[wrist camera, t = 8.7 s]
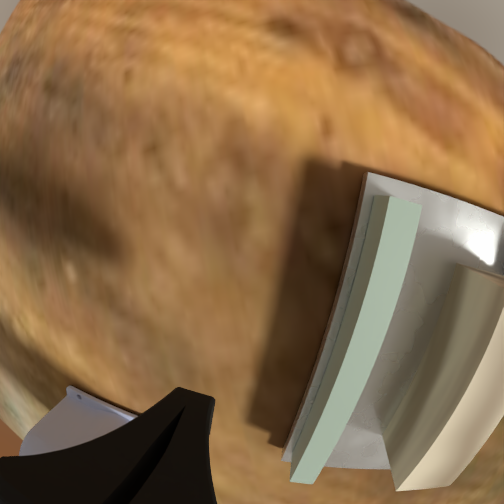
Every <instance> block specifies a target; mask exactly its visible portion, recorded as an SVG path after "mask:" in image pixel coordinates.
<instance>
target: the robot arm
mask: <svg viewBox="0 0 504 504" xmlns="http://www.w3.org/2000/svg"><path fill="white" fill-rule="evenodd" d="M66 392H67V396H66V397H64V398H63V399H62V400H61V401H60V402H59V403H58V404H57V405H56V406H55V407H54V408H53V409H52V410H51V411H50V412H48V413H47V414H46V415H45V416H44V417H43V418H42V419H41V420H40V421H39V422H38V423H37V424H36V425H35V426H34V427H33V428H32V429H31V430H30V431H29V432H28V433H27V435H26V436H25V438H24V440H23V442H22V445H21V448H20V453H19V456H9V457H1V458H0V504H217V501H216V497H215V492H214V487H213V482H212V475H211V468H210V457H209V435H210V430H211V424H212V418H213V412H214V406H215V399H214V398H213V397H212V396H208V395H204V394H201V393H197V392H194V391H191V390H187V389H184V388H181V387H177V388H175V389H174V390H173V391H172V392H171V393H169V394H168V395H167V396H166V397H164V398H163V399H162V400H160V401H159V402H158V403H156V404H155V405H154V406H152V407H151V408H149V409H148V410H146V411H145V412H144V413H142V414H141V415H139V416H137V415H134V414H132V413H129V412H127V411H124V410H122V409H120V408H117V407H115V406H113V405H110V404H108V403H106V402H104V401H101V400H99V399H97V398H95V397H93V396H91V395H89V394H87V393H85V392H83V391H81V390H79V389H77V388H75V387H73V386H70V385H69V386H68V387H67V388H66Z"/></svg>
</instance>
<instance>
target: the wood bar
mask: <svg viewBox="0 0 504 504" xmlns="http://www.w3.org/2000/svg"><path fill="white" fill-rule="evenodd" d="M503 415H504V276H502V275H499V274H495V273H492V272H488V271H485V270H481V269H477V268H474V267H470V266H466V265H463V264H459V263H456V266H455V270H454V273H453V276H452V280H451V283H450V286H449V289H448V292H447V295H446V298H445V301H444V304H443V307H442V310H441V313H440V316H439V318H438V321H437V324H436V326H435V329H434V331H433V334H432V337H431V339H430V341H429V344H428V346H427V349H426V351H425V353H424V356H423V358H422V360H421V362H420V365H419V367H418V369H417V371H416V373H415V375H414V377H413V380H412V382H411V384H410V386H409V388H408V390H407V392H406V394H405V396H404V397H403V399H402V401H401V403H400V405H399V407H398V409H397V411H396V412H395V414H394V416H393V418H392V420H391V421H390V423H389V425H388V426H387V428H386V430H385V432H384V433H383V435H382V437H383V441H384V444H385V448H386V452H387V456H388V460H389V464H390V468H391V472H392V477H393V481H394V485H395V490H396V491H405V490H418V489H427V488H436V487H443V486H450V485H451V484H452V482H453V481H454V480H455V479H456V478H457V477H458V476H459V474H460V473H461V472H462V471H463V470H464V469H465V467H466V466H467V465H468V464H469V462H470V461H471V460H472V459H473V457H474V456H475V455H476V454H477V452H478V451H479V450H480V448H481V447H482V446H483V444H484V443H485V442H486V440H487V439H488V437H489V436H490V435H491V433H492V432H493V430H494V429H495V427H496V426H497V424H498V423H499V421H500V420H501V418H502V417H503Z"/></svg>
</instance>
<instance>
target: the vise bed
mask: <svg viewBox="0 0 504 504" xmlns="http://www.w3.org/2000/svg"><path fill="white" fill-rule="evenodd" d="M375 195H383V196H392V197H395V198H399V199H402V200H406V201H409V202H413V203H416V204H420V205H422V209H421V214H420V219H419V223H418V228H417V232H416V236H415V240H414V244H413V248H412V252H411V256H410V260H409V263H408V267H407V271H406V274H405V278H404V281H403V284H402V288H401V291H400V294H399V297H398V300H397V303H396V306H395V309H394V312H393V315H392V318H391V321H390V324H389V327H388V330H387V332H386V335H385V338H384V340H383V343H382V346H381V348H380V351H379V353H378V356H377V358H376V361H375V363H374V366H373V368H372V370H371V373H370V375H369V378H368V380H367V382H366V384H365V387H364V389H363V391H362V393H361V395H360V398H359V400H358V402H357V404H356V406H355V408H354V410H353V412H352V414H351V416H350V418H349V420H348V422H347V424H346V426H345V428H344V430H343V432H342V434H341V436H340V438H339V440H338V442H337V443H336V445H335V447H334V449H333V451H332V453H331V454H330V456H329V458H328V460H327V461H326V463H325V465H324V466H327V467H339V468H356V469H391V468H390V464H389V460H388V456H387V452H386V448H385V444H384V441H383V437H382V435H383V433H384V432H385V430H386V428H387V426H388V425H389V423H390V421H391V420H392V418H393V416H394V414H395V412H396V411H397V409H398V407H399V405H400V403H401V401H402V399H403V397H404V396H405V394H406V392H407V390H408V388H409V386H410V384H411V382H412V380H413V377H414V375H415V373H416V371H417V369H418V367H419V365H420V362H421V360H422V358H423V356H424V353H425V351H426V349H427V346H428V344H429V341H430V339H431V337H432V334H433V331H434V329H435V326H436V324H437V321H438V318H439V316H440V313H441V310H442V307H443V304H444V301H445V298H446V295H447V292H448V289H449V286H450V283H451V280H452V276H453V273H454V270H455V266H456V263H459V264H463V265H466V266H470V267H474V268H477V269H481V270H485V271H488V272H492V273H495V274H499V275H502V276H504V217H503V216H500V215H498V214H495V213H493V212H490V211H488V210H485V209H483V208H480V207H477V206H475V205H472V204H469V203H467V202H464V201H461V200H458V199H455V198H453V197H450V196H447V195H444V194H441V193H438V192H435V191H432V190H429V189H425V188H422V187H419V186H416V185H413V184H409V183H406V182H403V181H399V180H396V179H392V178H389V177H385V176H381V175H378V174H374V173H370V172H366V173H364V175H363V180H362V185H361V191H360V196H359V201H358V205H357V210H356V215H355V219H354V224H353V228H352V233H351V237H350V241H349V246H348V250H347V254H346V258H345V262H344V266H343V270H342V274H341V278H340V281H339V285H338V289H337V292H336V296H335V300H334V303H333V307H332V310H331V314H330V317H329V320H328V324H327V327H326V330H325V333H324V337H323V340H322V343H321V346H320V349H319V352H318V356H317V359H316V362H315V365H314V368H313V371H312V373H311V376H310V379H309V382H308V385H307V388H306V391H305V393H304V396H303V399H302V402H301V404H300V407H299V410H298V412H297V415H296V418H295V420H294V423H293V425H292V428H291V430H290V433H289V435H288V438H287V440H286V443H285V445H284V448H283V450H282V456H281V461H287V462H291V457H292V453H293V451H294V448H295V446H296V444H297V442H298V439H299V437H300V435H301V432H302V430H303V428H304V425H305V423H306V421H307V418H308V416H309V413H310V411H311V408H312V406H313V403H314V401H315V398H316V396H317V393H318V390H319V388H320V385H321V382H322V380H323V377H324V374H325V372H326V369H327V366H328V363H329V360H330V357H331V355H332V352H333V349H334V346H335V343H336V340H337V337H338V334H339V331H340V327H341V324H342V321H343V318H344V315H345V311H346V308H347V305H348V301H349V298H350V294H351V291H352V287H353V284H354V280H355V276H356V273H357V269H358V265H359V261H360V257H361V253H362V249H363V245H364V241H365V237H366V233H367V228H368V224H369V219H370V215H371V210H372V205H373V201H374V196H375Z"/></svg>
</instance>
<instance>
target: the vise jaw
mask: <svg viewBox="0 0 504 504" xmlns="http://www.w3.org/2000/svg"><path fill="white" fill-rule="evenodd" d="M421 209H422V205H420V204H416V203H413V202H409V201H406V200H402V199H399V198H395V197H392V196H383V195H375V196H374V201H373V205H372V210H371V215H370V219H369V224H368V228H367V233H366V237H365V241H364V245H363V249H362V253H361V257H360V261H359V265H358V269H357V273H356V276H355V280H354V284H353V287H352V291H351V294H350V298H349V301H348V305H347V308H346V311H345V315H344V318H343V321H342V324H341V327H340V331H339V334H338V337H337V340H336V343H335V346H334V349H333V352H332V355H331V357H330V360H329V363H328V366H327V369H326V372H325V374H324V377H323V380H322V382H321V385H320V388H319V390H318V393H317V396H316V398H315V401H314V403H313V406H312V408H311V411H310V413H309V416H308V418H307V421H306V423H305V425H304V428H303V430H302V432H301V435H300V437H299V439H298V442H297V444H296V446H295V448H294V451H293V453H292V457H291V470H290V482H297V483H306V484H313V483H314V481H315V480H316V478H317V476H318V475H319V473H320V471H321V470H322V468H323V466H324V465H325V463H326V461H327V460H328V458H329V456H330V454H331V453H332V451H333V449H334V447H335V445H336V443H337V442H338V440H339V438H340V436H341V434H342V432H343V430H344V428H345V426H346V424H347V422H348V420H349V418H350V416H351V414H352V412H353V410H354V408H355V406H356V404H357V402H358V400H359V398H360V395H361V393H362V391H363V389H364V387H365V384H366V382H367V380H368V378H369V375H370V373H371V370H372V368H373V366H374V363H375V361H376V358H377V356H378V353H379V351H380V348H381V346H382V343H383V340H384V338H385V335H386V332H387V330H388V327H389V324H390V321H391V318H392V315H393V312H394V309H395V306H396V303H397V300H398V297H399V294H400V291H401V288H402V284H403V281H404V278H405V274H406V271H407V267H408V263H409V260H410V256H411V252H412V248H413V244H414V240H415V236H416V232H417V228H418V223H419V219H420V214H421Z"/></svg>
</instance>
